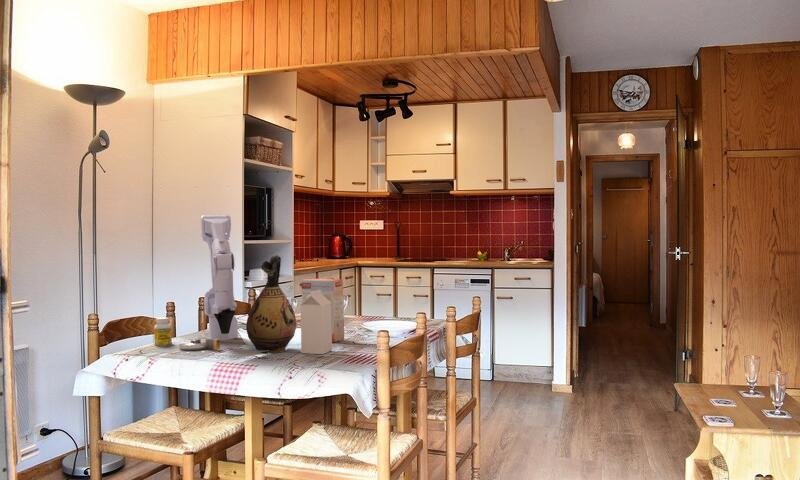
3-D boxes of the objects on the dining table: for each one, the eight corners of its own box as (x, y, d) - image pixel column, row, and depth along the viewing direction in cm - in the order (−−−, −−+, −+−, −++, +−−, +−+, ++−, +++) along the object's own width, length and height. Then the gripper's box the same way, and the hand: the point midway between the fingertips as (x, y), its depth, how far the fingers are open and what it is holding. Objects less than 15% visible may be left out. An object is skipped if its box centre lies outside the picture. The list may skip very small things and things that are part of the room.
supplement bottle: (169, 344, 225) (168, 316, 225) (173, 347, 221) (172, 318, 220) (152, 346, 222) (151, 318, 222) (156, 349, 218) (155, 319, 217)
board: (196, 343, 226) (196, 340, 226) (241, 348, 217) (241, 344, 217) (148, 354, 209) (148, 350, 209) (195, 359, 199) (195, 355, 199)
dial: (172, 349, 211) (172, 339, 211) (196, 343, 219) (196, 334, 219) (206, 352, 204) (206, 342, 204) (229, 347, 212) (229, 337, 212)
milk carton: (332, 350, 209) (330, 290, 209) (322, 354, 203) (321, 292, 202) (311, 349, 212) (310, 289, 211) (301, 353, 205) (299, 291, 204)
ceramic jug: (290, 355, 203) (288, 256, 202) (240, 355, 204) (238, 257, 203) (302, 345, 220) (300, 254, 219) (256, 345, 221) (254, 254, 220)
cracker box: (345, 340, 228) (344, 278, 227) (334, 343, 223) (332, 280, 222) (313, 337, 235) (312, 277, 235) (302, 339, 230) (300, 279, 230)
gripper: (221, 289, 221) (223, 329, 222) (202, 293, 207) (203, 337, 207) (242, 288, 220) (243, 330, 220) (223, 293, 206) (224, 337, 206)
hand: (225, 333), depth 214 cm, fingers closed
